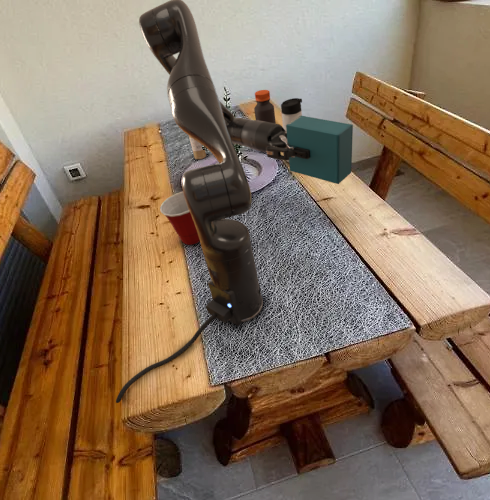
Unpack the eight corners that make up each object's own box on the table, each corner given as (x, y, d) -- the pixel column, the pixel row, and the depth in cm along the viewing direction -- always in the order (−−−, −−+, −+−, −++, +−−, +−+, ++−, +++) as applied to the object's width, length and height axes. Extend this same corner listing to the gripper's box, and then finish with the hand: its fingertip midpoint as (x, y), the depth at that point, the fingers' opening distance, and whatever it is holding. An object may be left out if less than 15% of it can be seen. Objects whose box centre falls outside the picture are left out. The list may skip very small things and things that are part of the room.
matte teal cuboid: (338, 184, 90) (338, 135, 83) (289, 170, 98) (285, 125, 90) (351, 172, 93) (352, 124, 86) (303, 160, 101) (300, 115, 93)
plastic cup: (173, 229, 110) (161, 193, 102) (211, 223, 109) (201, 186, 102) (170, 254, 101) (156, 217, 94) (211, 247, 101) (200, 209, 93)
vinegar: (281, 148, 139) (275, 91, 127) (265, 154, 138) (257, 97, 125) (273, 142, 144) (266, 87, 132) (256, 148, 142) (248, 92, 130)
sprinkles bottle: (205, 152, 145) (197, 117, 137) (207, 158, 142) (198, 122, 133) (193, 155, 145) (184, 120, 136) (194, 160, 142) (185, 125, 133)
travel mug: (304, 163, 128) (300, 103, 116) (285, 164, 130) (278, 104, 117) (306, 154, 133) (303, 95, 120) (287, 155, 135) (282, 97, 122)
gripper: (242, 133, 95) (299, 146, 86) (278, 112, 103) (333, 121, 94) (247, 161, 100) (300, 176, 91) (280, 138, 108) (333, 150, 98)
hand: (317, 148), depth 92 cm, fingers closed on matte teal cuboid, 6 cm apart
